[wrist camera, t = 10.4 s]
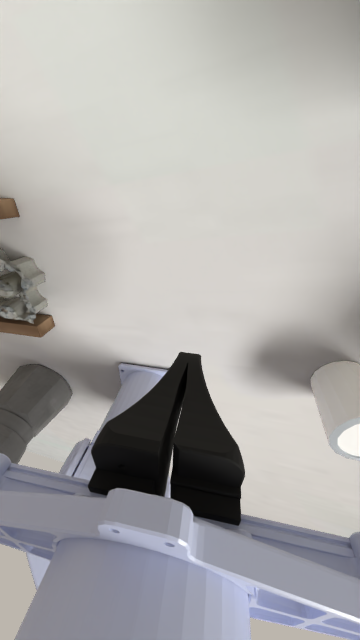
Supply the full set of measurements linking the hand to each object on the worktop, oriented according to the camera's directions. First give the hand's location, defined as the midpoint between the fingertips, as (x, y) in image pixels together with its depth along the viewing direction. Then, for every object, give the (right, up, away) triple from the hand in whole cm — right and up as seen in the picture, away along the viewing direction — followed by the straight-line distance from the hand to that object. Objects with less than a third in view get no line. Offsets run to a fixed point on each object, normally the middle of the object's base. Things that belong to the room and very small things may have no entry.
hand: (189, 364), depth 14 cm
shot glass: (+17, -4, +10) cm, 20 cm away
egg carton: (-21, +8, +11) cm, 25 cm away
